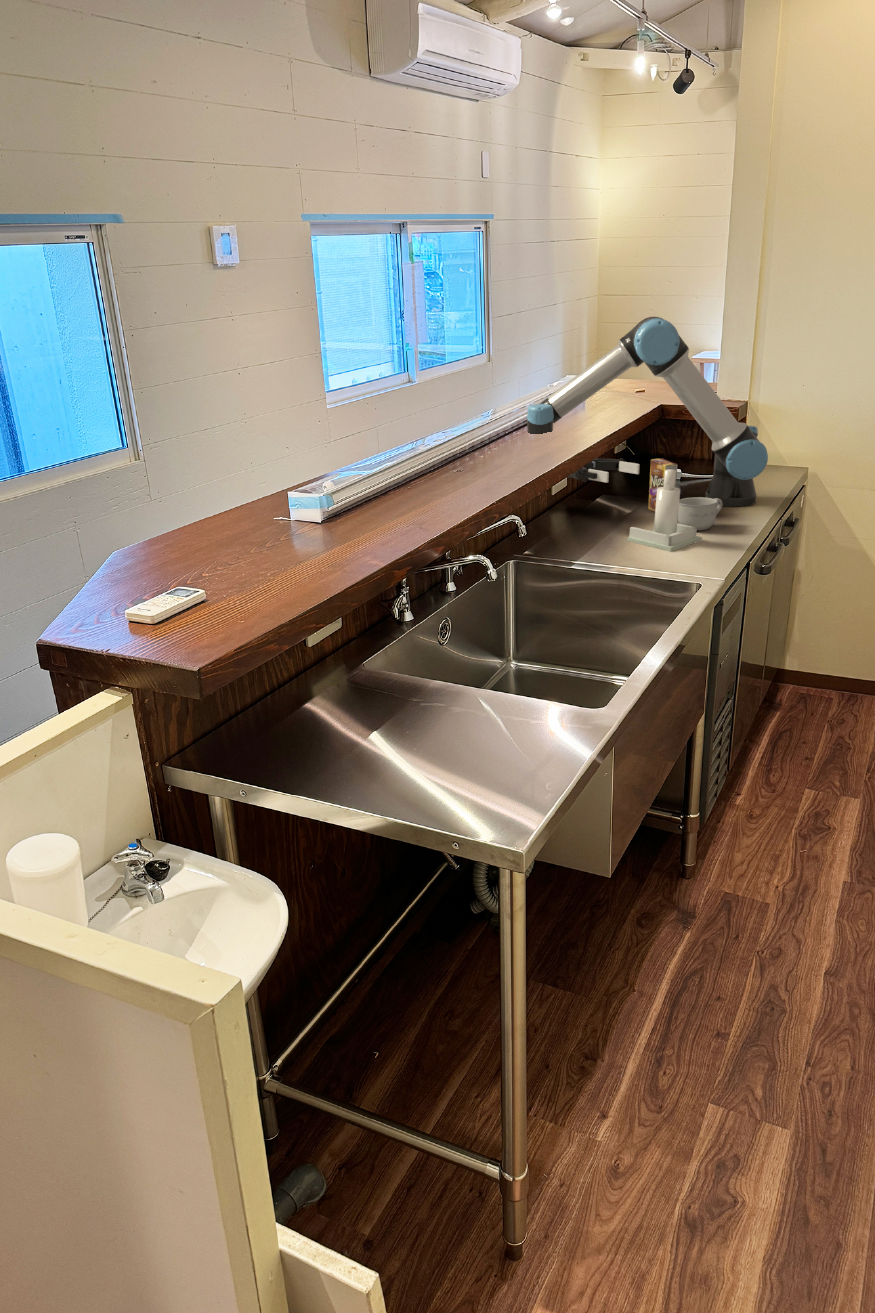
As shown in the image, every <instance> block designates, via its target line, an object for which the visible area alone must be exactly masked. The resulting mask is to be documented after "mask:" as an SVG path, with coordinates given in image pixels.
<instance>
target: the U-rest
mask: <svg viewBox="0 0 875 1313" xmlns="http://www.w3.org/2000/svg"><path fill="white" fill-rule="evenodd" d="M697 531H698V530H697V528H696V527H691V526H687V525H682V524H680V523H679V522H677V531H676V533H673V534H670V535H666V534H661V533H657V532H654V528H653V529H643V528H639V527H635V526H631V527H629V536H627V540H626V541H627V542H630V543H634V544H639V545H643V546H647V547H651V548H653V549H654V548H655V549H659V550H662V551H665V552H666V551H667V552H673V551H676V550H678V549H682V548H685V547H687V545H688V546H690V544H691V545H693V544H692V543H694V544H696V543H695V542H697V543H699V542H698V541H700V542H702V541H703V537H702V536H699V535H697V533H698V532H697ZM701 540H702V541H701ZM681 547H682V548H681Z"/></svg>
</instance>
